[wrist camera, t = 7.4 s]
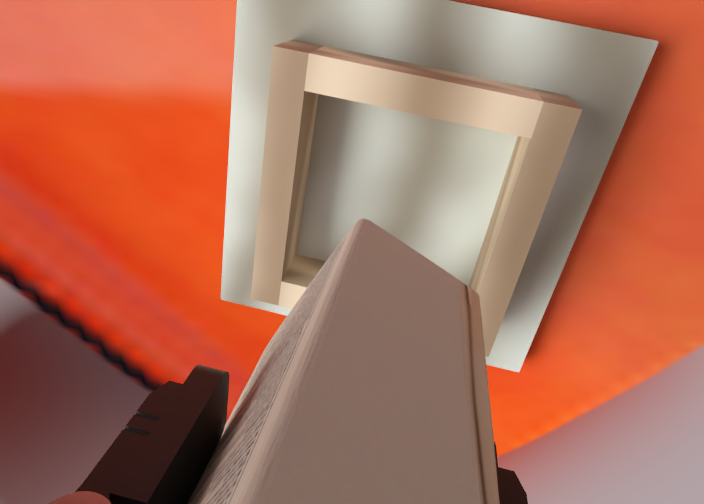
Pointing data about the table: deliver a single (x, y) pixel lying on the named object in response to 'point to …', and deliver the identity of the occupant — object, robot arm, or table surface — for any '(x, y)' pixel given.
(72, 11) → the table surface
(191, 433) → the robot arm
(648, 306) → the table surface
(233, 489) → the skincare box
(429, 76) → the square collar plate
